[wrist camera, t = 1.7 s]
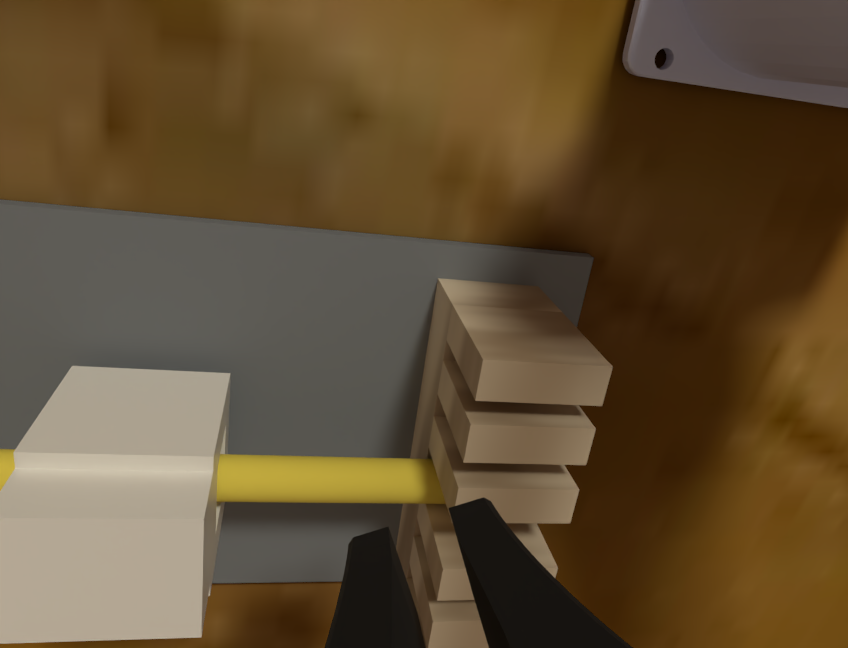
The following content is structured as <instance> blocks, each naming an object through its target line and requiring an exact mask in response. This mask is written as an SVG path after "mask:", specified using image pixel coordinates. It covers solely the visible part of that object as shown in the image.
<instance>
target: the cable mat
mask: <svg viewBox="0 0 848 648" xmlns="http://www.w3.org/2000/svg"><path fill="white" fill-rule="evenodd" d="M593 259H594V258H593V257H592V256H591V255H590V254H586V253H576V252H565V251H554V250H543V249H532V248H521V247H510V246H500V245H489V244H478V243H467V242H456V241H445V240H434V239H424V238H413V237H402V236H391V235H380V234H369V233H358V232H347V231H337V230H326V229H315V228H304V227H293V226H282V225H271V224H261V223H250V222H239V221H228V220H217V219H206V218H195V217H185V216H174V215H163V214H152V213H141V212H130V211H119V210H109V209H98V208H87V207H76V206H65V205H54V204H43V203H32V202H22V201H11V200H0V449H16V448H17V446H18V445H19V443H20V442H21V440H22V439H23V437H24V436H25V434H26V433H27V431H28V430H29V429H30V427H31V426H32V424H33V423H34V421H35V420H36V418H37V417H38V415H39V414H40V412H41V411H42V409H43V408H44V406H45V405H46V404H47V402H48V401H49V399H50V398H51V396H52V395H53V393H54V392H55V390H56V389H57V387H58V386H59V384H60V383H61V381H62V380H63V378H64V377H65V376H66V374H67V373H68V371H69V370H70V368H71V367H72V366H88V367H109V368H131V369H152V370H173V371H194V372H216V373H231V376H230V403H229V431H228V454H236V455H280V456H323V457H366V458H410V455H411V448H412V442H413V436H414V429H415V423H416V416H417V410H418V403H419V397H420V391H421V384H422V378H423V371H424V365H425V358H426V352H427V346H428V339H429V333H430V326H431V320H432V314H433V307H434V301H435V294H436V288H437V281H438V278H441V279H454V280H466V281H479V282H491V283H504V284H516V285H529V286H538V287H539V288H540V289H541V290H542V291H543V292H544V293H545V294H546V295H547V296H548V297H549V298H550V300H551V301H552V302H553V303H554V304H555V305H556V306H557V307H558V308H559V309H560V310H561V311H562V312H563V314H564V315H565V316H566V317H567V318H568V319H569V320H570V321H571V322H572V323H573V324H574V325H575V326H576V328H577V325H578V321H579V316H580V312H581V308H582V304H583V300H584V296H585V292H586V288H587V284H588V280H589V276H590V271H591V267H592V263H593ZM402 506H403V504H399V503H288V502H225V505H224V511H223V517H222V523H221V530H220V536H219V542H218V548H217V555H216V561H215V567H214V573H213V580H212V583H270V582H337V581H342V580H343V575H344V570H345V564H346V559H347V552H348V544H349V543H350V541H351V540H352V538H353V537H356V536H359V535H362V534H365V533H369V532H372V531H375V530H378V529H382V528H385V527H389V530H390V532H391V535H392V538H393V541H394V544H395V547H396V545H397V538H398V532H399V526H400V519H401V513H402Z"/></svg>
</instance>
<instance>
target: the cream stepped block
mask: <svg viewBox="0 0 848 648" xmlns="http://www.w3.org/2000/svg"><path fill="white" fill-rule="evenodd" d="M230 376H231V373H216V372H194V371H173V370H152V369H131V368H109V367H88V366H72V367H71V368H70V370H69V371H68V373H67V374H66V376H65V377H64V378H63V380H62V381H61V383H60V384H59V386H58V387H57V389H56V390H55V392H54V393H53V395H52V396H51V398H50V399H49V401H48V402H47V404H46V405H45V406H44V408H43V409H42V411H41V412H40V414H39V415H38V417H37V418H36V420H35V421H34V423H33V424H32V426H31V427H30V429H29V430H28V431H27V433H26V434H25V436H24V437H23V439H22V440H21V442H20V443H19V445H18V446H17V448H16V449H15V451H14V452H13V453H14V462H15V469H14V471H13V472H12V474H11V475H10V477H9V478H8V480H7V482H6V483H5V485H4V486H3V488H2V489H1V491H0V644H2V643H35V642H68V641H100V640H133V639H166V638H198V637H202V631H203V625H204V619H205V612H206V606H207V600H208V596H210V592H211V586H212V580H213V573H214V567H215V561H216V555H217V548H218V542H219V536H220V530H221V523H222V517H223V511H224V505H225V502H217V470H218V463H219V458H220V454H228V431H229V403H230Z"/></svg>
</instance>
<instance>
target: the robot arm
mask: <svg viewBox="0 0 848 648" xmlns="http://www.w3.org/2000/svg"><path fill="white" fill-rule="evenodd" d="M661 49H664V51H665V53H666V61H665V63H664V65H663V66H662V67H660V68H657V67H656V65H655V56H656V54H657V52H658V51H659V50H661ZM623 64H624V67H625V69H626V70H627V71H628V72H629V73H630V74H632V75H635V76H640V77H647V78H653V79H660V80H666V81H673V82H679V83H686V84H692V85H699V86H705V87H712V88H719V89H725V90H732V91H738V92H745V93H751V94H758V95H764V96H771V97H777V98H784V99H790V100H797V101H803V102H810V103H816V104H823V105H830V106H836V107H843V108H848V0H635V4H634V8H633V12H632V16H631V21H630V25H629V29H628V34H627V38H626V42H625V46H624V51H623ZM449 512H450V515H451V519H452V522H453V526H454V529H455V533H456V537H457V540H458V544H459V547H460V551H461V554H462V558H463V561H464V565H465V568H466V572H467V575H468V579H469V583H470V586H471V590H472V593H473V597H474V600H475V603H476V607H477V610H478V613H479V617H480V620H481V623H482V627H483V630H484V633H485V636H486V640H487V643H488V646H489V648H633V647H631V646H630V645H629V644H628V643H626V642H625V641H624V640H623V639H621V638H620V637H619V636H618V635H617V634H615V633H614V632H613V631H612V630H611V629H609V628H608V627H607V626H606V625H605V624H604V623H602V622H601V621H600V620H599V619H598V618H597V617H596V616H594V615H593V614H592V613H591V612H590V611H589V610H588V609H587V608H586V607H585V606H583V605H582V604H581V603H580V602H579V601H578V600H577V599H576V598H575V597H574V596H573V595H572V594H571V593H569V592H568V591H567V590H566V589H565V588H564V587H563V586H562V585H561V584H560V583H559V582H558V581H557V580H556V579H555V578H554V577H553V576H552V575H551V574H550V572H549V571H548V570H547V569H546V568H545V567H544V566H543V565H542V564H541V563H540V562H539V561H538V560H537V559H536V558H535V557H534V556H533V555H532V554H531V552H530V551H529V550H528V549H527V548H526V547H525V546H524V544H523V543H522V542H521V541H520V540H519V539H518V537H517V536H516V535H515V534H514V533H513V531H512V530H511V529H510V528H509V526H508V525H507V524H506V522H505V521H504V520H503V518H502V517H501V516H500V514H499V513H498V511H497V510H496V508H495V507H494V505H493V503H492V502H491V501H490V500H488V499H486V498H484V497H483V498H480V499H476V500H473V501H470V502H467V503H463V504H460V505H457V506H454V507H450V508H449ZM325 648H426V647H425V643H424V638H423V634H422V630H421V625H420V621H419V617H418V613H417V610H416V607H415V604H414V601H413V598H412V595H411V592H410V589H409V586H408V583H407V580H406V577H405V574H404V571H403V568H402V565H401V562H400V559H399V556H398V553H397V550H396V547H395V544H394V541H393V538H392V535H391V532H390V530H389V527H385V528H382V529H378V530H375V531H372V532H369V533H365V534H362V535H359V536H356V537H353V538H352V540H351V541H350V543H349V544H348V552H347V559H346V564H345V570H344V575H343V580H342V585H341V589H340V593H339V597H338V602H337V606H336V610H335V613H334V617H333V620H332V624H331V628H330V631H329V635H328V638H327V642H326V645H325Z"/></svg>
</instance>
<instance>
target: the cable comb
mask: <svg viewBox="0 0 848 648" xmlns="http://www.w3.org/2000/svg"><path fill="white" fill-rule="evenodd" d="M612 368H613V366H612V365H611V364H610V363H609V362H608V361H607V360H606V359H605V358H604V357H603V356H602V354H601V353H600V352H599V351H598V350H597V349H596V348H595V347H594V346H593V345H592V344H591V343H590V342H589V340H588V339H587V338H586V337H585V336H584V335H583V334H582V333H581V332H580V331H579V330H578V329H577V328H576V326H575V325H574V324H573V323H572V322H571V321H570V320H569V319H568V318H567V317H566V316H565V315H564V314H563V312H562V311H561V310H560V309H559V308H558V307H557V306H556V305H555V304H554V303H553V302H552V301H551V300H550V298H549V297H548V296H547V295H546V294H545V293H544V292H543V291H542V290H541V289H540V288H539V287H538V286H529V285H516V284H504V283H491V282H479V281H466V280H454V279H441V278H438V281H437V288H436V294H435V301H434V307H433V314H432V320H431V326H430V333H429V339H428V346H427V352H426V358H425V365H424V371H423V378H422V384H421V391H420V397H419V403H418V410H417V416H416V423H415V429H414V436H413V442H412V448H411V455H410V459H432V460H433V463H434V467H435V470H436V473H437V476H438V480H439V483H440V486H441V489H442V493H443V496H444V499H445V502H446V504H403V506H402V513H401V519H400V526H399V532H398V538H397V545H396V550H397V553H398V556H399V559H400V562H401V565H402V568H403V571H404V574H405V577H406V580H407V583H408V586H409V589H410V592H411V595H412V598H413V601H414V604H415V607H416V610H417V613H418V617H419V621H420V625H421V630H422V634H423V638H424V643H425V647H426V648H489V646H488V643H487V640H486V636H485V633H484V630H483V627H482V623H481V620H480V617H479V613H478V610H477V607H476V603H475V600H474V597H473V593H472V590H471V586H470V583H469V579H468V575H467V572H466V568H465V565H464V561H463V558H462V554H461V551H460V547H459V544H458V540H457V537H456V533H455V529H454V526H453V522H452V519H451V515H450V512H449V508H450V507H454V506H457V505H460V504H463V503H467V502H470V501H473V500H476V499H480V498H483V497H484V498H486V499H488V500H490V501H491V502H492V503H493V505H494V507H495V508H496V510H497V511H498V513H499V514H500V516H501V517H502V518H503V520H504V521H505V522H506V524H507V525H508V526H509V528H510V529H511V530H512V531H513V533H514V534H515V535H516V536H517V537H518V539H519V540H520V541H521V542H522V543H523V544H524V546H525V547H526V548H527V549H528V550H529V551H530V552H531V554H532V555H533V556H534V557H535V558H536V559H537V560H538V561H539V562H540V563H541V564H542V565H543V566H544V567H545V568H546V569H547V570H548V571H549V572H550V574H551V575H552V576H553V577H554V578H556V574H557V570H558V567H557V565H556V563H555V561H554V558H553V556H552V554H551V552H550V550H549V548H548V546H547V544H546V542H545V540H544V538H543V536H542V533H541V531H540V529H539V527H538V525H537V523H570V522H571V519H572V515H573V511H574V508H575V504H576V500H577V497H578V493H579V488H578V487H577V485H576V483H575V482H574V480H573V478H572V477H571V475H570V473H569V472H568V470H567V468H566V467H565V465H586V464H587V460H588V456H589V453H590V449H591V445H592V442H593V438H594V434H595V431H596V428H595V427H594V425H593V424H592V423H591V421H590V420H589V419H588V417H587V416H586V415H585V413H584V412H583V411H582V409H581V408H580V407H579V405H587V406H602V405H603V401H604V398H605V394H606V390H607V387H608V383H609V379H610V376H611V372H612Z"/></svg>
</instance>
